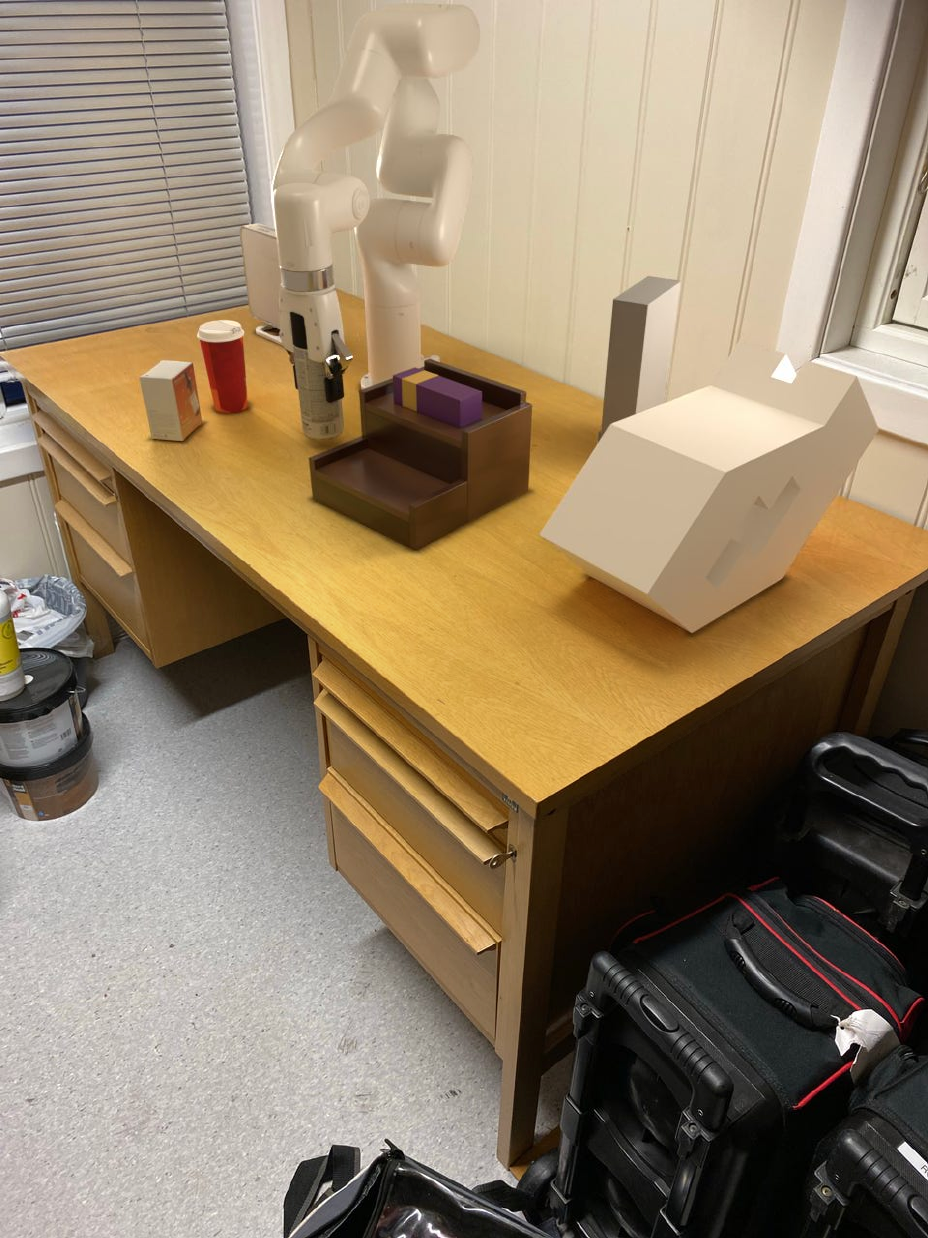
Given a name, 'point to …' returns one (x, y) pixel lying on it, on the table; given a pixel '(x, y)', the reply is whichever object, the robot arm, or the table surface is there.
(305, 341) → the spray can
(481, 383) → the step rack
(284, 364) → the table surface
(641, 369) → the cassette tape recorder
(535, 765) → the table surface
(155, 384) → the small box
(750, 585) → the cream angular block
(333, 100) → the robot arm
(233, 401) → the paper cup
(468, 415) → the purple banded block
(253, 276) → the network device
